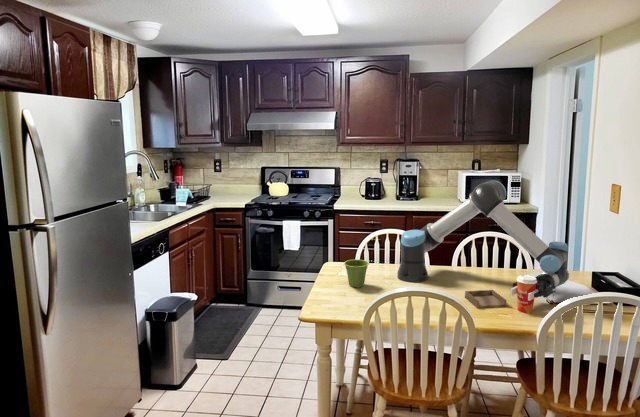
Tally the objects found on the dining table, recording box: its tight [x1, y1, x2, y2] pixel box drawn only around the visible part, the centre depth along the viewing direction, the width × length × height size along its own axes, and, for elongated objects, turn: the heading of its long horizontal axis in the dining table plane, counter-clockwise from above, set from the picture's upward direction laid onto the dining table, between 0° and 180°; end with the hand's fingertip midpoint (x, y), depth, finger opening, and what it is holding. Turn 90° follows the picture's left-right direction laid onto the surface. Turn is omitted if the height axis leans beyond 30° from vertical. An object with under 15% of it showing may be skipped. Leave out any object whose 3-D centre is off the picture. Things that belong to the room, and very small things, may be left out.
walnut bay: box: [464, 289, 507, 309], centre depth 197 cm, size 13×13×3 cm
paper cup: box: [516, 274, 537, 314], centre depth 187 cm, size 8×8×14 cm
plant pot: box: [343, 259, 370, 288], centre depth 221 cm, size 12×12×11 cm
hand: (520, 294), depth 183 cm, fingers closed on paper cup, 7 cm apart
